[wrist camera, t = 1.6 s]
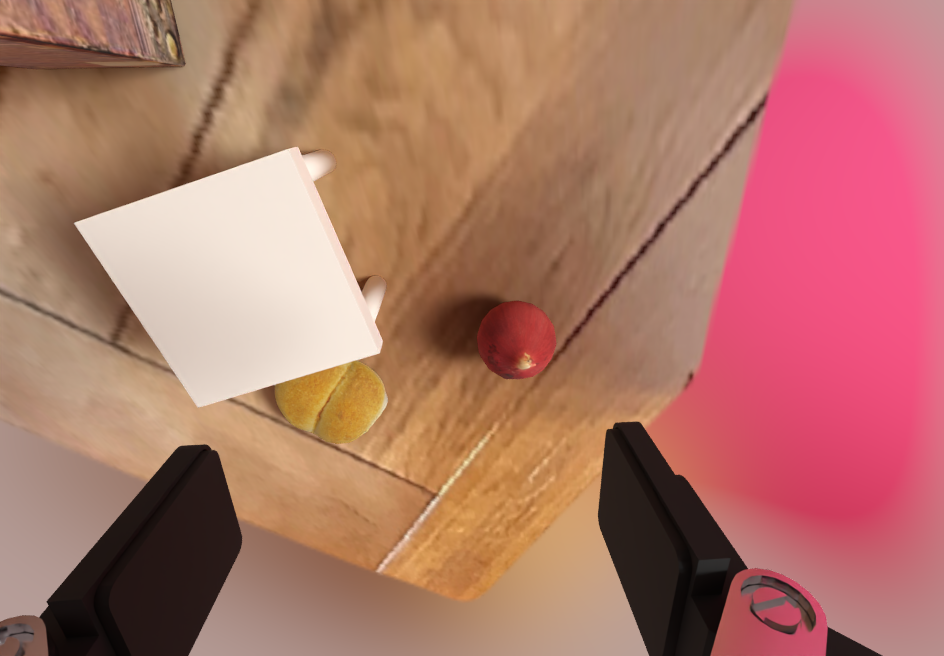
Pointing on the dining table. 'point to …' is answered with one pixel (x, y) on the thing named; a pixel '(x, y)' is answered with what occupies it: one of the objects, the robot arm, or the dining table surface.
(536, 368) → the onion
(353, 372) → the bread roll
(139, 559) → the robot arm
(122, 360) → the dining table surface
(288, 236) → the stool
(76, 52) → the book
